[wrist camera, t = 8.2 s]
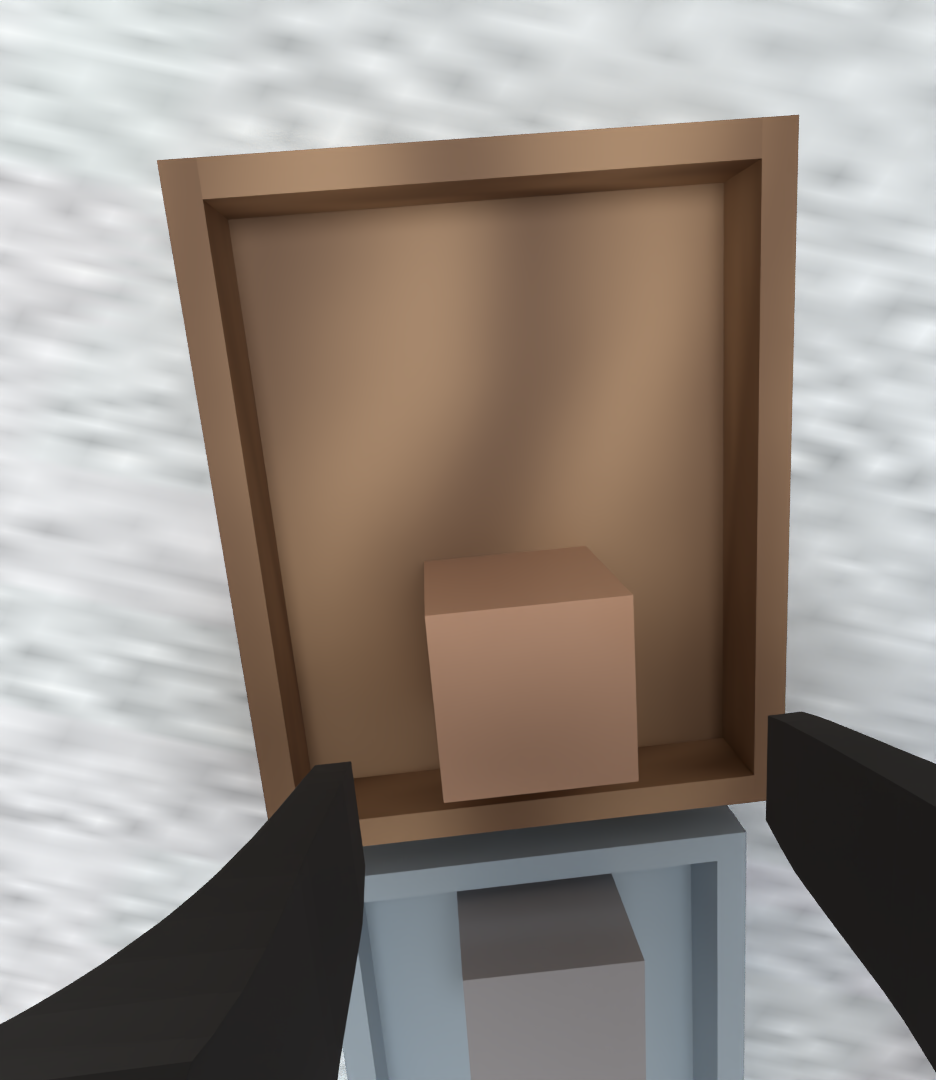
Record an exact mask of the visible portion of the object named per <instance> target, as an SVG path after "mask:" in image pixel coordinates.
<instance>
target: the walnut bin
mask: <svg viewBox="0 0 936 1080" xmlns="http://www.w3.org/2000/svg"><path fill="white" fill-rule="evenodd" d="M798 135H799V115H790V116H776V117H761V118H747V119H733V120H719V121H705V122H691V123H677V124H663V125H648V126H634V127H620V128H606V129H592V130H578V131H564V132H550V133H536V134H521V135H507V136H493V137H479V138H465V139H451V140H437V141H423V142H408V143H394V144H380V145H366V146H352V147H338V148H324V149H310V150H295V151H281V152H267V153H253V154H239V155H225V156H211V157H197V158H182V159H168V160H157V164H158V170H159V176H160V182H161V188H162V194H163V200H164V206H165V211H166V217H167V223H168V229H169V235H170V241H171V247H172V253H173V259H174V265H175V271H176V277H177V283H178V289H179V294H180V300H181V306H182V312H183V318H184V324H185V330H186V336H187V342H188V348H189V354H190V360H191V366H192V372H193V377H194V383H195V389H196V395H197V401H198V407H199V413H200V419H201V425H202V431H203V437H204V443H205V449H206V455H207V460H208V466H209V472H210V478H211V484H212V490H213V496H214V502H215V508H216V514H217V520H218V526H219V532H220V538H221V543H222V549H223V555H224V561H225V567H226V573H227V579H228V585H229V591H230V597H231V603H232V609H233V615H234V620H235V626H236V632H237V638H238V644H239V650H240V656H241V662H242V668H243V674H244V680H245V686H246V692H247V698H248V703H249V709H250V715H251V721H252V727H253V733H254V739H255V745H256V751H257V757H258V763H259V769H260V775H261V781H262V786H263V792H264V798H265V804H266V810H267V816H268V820H269V819H270V817H271V816H272V815H273V814H274V813H275V812H276V811H277V809H278V808H279V807H280V806H281V805H282V803H283V802H284V801H285V800H286V799H287V798H288V796H289V795H290V794H291V793H292V792H293V790H294V789H295V788H296V787H297V786H298V784H299V783H300V782H301V781H302V780H303V778H304V777H305V776H306V775H307V774H308V773H309V772H310V770H311V769H312V768H313V767H314V766H315V765H321V764H331V763H340V762H349V761H351V763H352V771H353V778H354V786H355V793H356V801H357V808H358V815H359V823H360V830H361V838H362V845H363V846H371V845H380V844H388V843H397V842H406V841H415V840H424V839H432V838H441V837H450V836H459V835H468V834H476V833H485V832H494V831H503V830H512V829H520V828H529V827H538V826H547V825H556V824H564V823H573V822H582V821H591V820H600V819H608V818H617V817H626V816H635V815H644V814H652V813H661V812H670V811H679V810H688V809H696V808H705V807H714V806H723V805H732V804H740V803H749V802H758V801H766V788H767V733H768V716H769V715H778V714H785V687H786V645H787V602H788V560H789V517H790V475H791V432H792V390H793V347H794V305H795V262H796V220H797V177H798ZM580 546H587V548H588V549H589V550H590V551H591V552H592V553H593V554H594V555H595V556H596V557H597V558H598V559H599V560H600V561H601V562H602V563H603V564H604V565H605V566H606V567H607V568H608V569H609V570H610V571H611V573H612V574H613V575H614V576H615V577H616V578H617V579H618V580H619V581H620V582H621V583H622V584H623V585H624V586H625V587H626V588H627V589H628V590H629V591H630V592H631V593H632V594H633V606H634V639H635V673H636V707H637V740H638V774H639V781H636V782H628V783H619V784H610V785H601V786H592V787H583V788H574V789H565V790H556V791H547V792H538V793H529V794H520V795H511V796H502V797H493V798H484V799H475V800H466V801H457V802H448V803H444V800H443V790H442V781H441V771H440V761H439V751H438V742H437V732H436V722H435V712H434V702H433V693H432V683H431V673H430V663H429V654H428V644H427V634H426V624H425V605H424V561H435V560H445V559H455V558H466V557H476V556H486V555H497V554H507V553H518V552H528V551H538V550H549V549H559V548H569V547H580Z"/></svg>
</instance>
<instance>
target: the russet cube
mask: <svg viewBox="0 0 936 1080" xmlns="http://www.w3.org/2000/svg"><path fill="white" fill-rule="evenodd" d="M424 605H425V624H426V634H427V644H428V654H429V663H430V673H431V683H432V693H433V702H434V712H435V722H436V732H437V742H438V751H439V761H440V771H441V781H442V790H443V800H444V803H448V802H457V801H466V800H475V799H484V798H493V797H502V796H511V795H520V794H529V793H538V792H547V791H556V790H565V789H574V788H583V787H592V786H601V785H610V784H619V783H628V782H636V781H639V774H638V740H637V707H636V673H635V639H634V606H633V594H632V593H631V592H630V591H629V590H628V589H627V588H626V587H625V586H624V585H623V584H622V583H621V582H620V581H619V580H618V579H617V578H616V577H615V576H614V575H613V574H612V573H611V571H610V570H609V569H608V568H607V567H606V566H605V565H604V564H603V563H602V562H601V561H600V560H599V559H598V558H597V557H596V556H595V555H594V554H593V553H592V552H591V551H590V550H589V549H588V548H587V546H580V547H569V548H559V549H549V550H538V551H528V552H518V553H507V554H497V555H486V556H476V557H466V558H455V559H445V560H435V561H424Z"/></svg>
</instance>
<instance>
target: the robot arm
mask: <svg viewBox="0 0 936 1080" xmlns="http://www.w3.org/2000/svg"><path fill="white" fill-rule="evenodd" d="M766 821H767V823H768V825H769V826H770V828H771V830H772V832H773V834H774V836H775V838H776V840H777V841H778V843H779V845H780V847H781V849H782V851H783V852H784V854H785V856H786V857H787V859H788V861H789V863H790V864H791V866H792V868H793V870H794V871H795V873H796V874H797V876H798V877H799V878H800V880H801V881H802V883H803V884H804V885H805V887H806V888H807V890H808V891H809V892H810V894H811V895H812V896H813V898H814V899H815V900H816V902H817V903H818V905H819V906H820V907H821V909H822V910H823V911H824V913H825V914H826V915H827V917H828V918H829V919H830V921H831V922H832V923H833V925H834V926H835V927H836V929H837V930H838V931H839V933H840V934H841V935H842V937H843V938H844V939H845V941H846V942H847V943H848V945H849V946H850V947H851V949H852V950H853V951H854V953H855V954H856V955H857V957H858V958H859V959H860V961H861V962H862V963H863V965H864V966H865V967H866V969H867V970H868V971H869V973H870V974H871V975H872V977H873V978H874V979H875V981H876V982H877V983H878V985H879V986H880V987H881V989H882V990H883V991H884V993H885V994H886V996H887V997H888V999H889V1000H890V1001H891V1003H892V1004H893V1006H894V1007H895V1009H896V1010H897V1012H898V1013H899V1014H900V1016H901V1017H902V1019H903V1020H904V1022H905V1023H906V1025H907V1026H908V1028H909V1030H910V1031H911V1033H912V1034H913V1036H914V1038H915V1039H916V1041H917V1043H918V1044H919V1046H920V1047H921V1049H922V1051H923V1052H924V1054H925V1056H926V1057H927V1059H928V1060H929V1062H930V1064H931V1065H932V1067H933V1069H934V1070H935V1072H936V764H935V763H933V762H930V761H927V760H925V759H922V758H920V757H917V756H915V755H912V754H910V753H908V752H905V751H903V750H900V749H898V748H895V747H893V746H890V745H888V744H886V743H883V742H881V741H878V740H876V739H874V738H871V737H869V736H866V735H864V734H861V733H859V732H857V731H854V730H852V729H849V728H847V727H844V726H842V725H839V724H837V723H834V722H832V721H829V720H826V719H823V718H821V717H818V716H815V715H812V714H808V713H805V712H796V713H787V714H778V715H769V716H768V733H767V788H766ZM364 888H365V860H364V852H363V845H362V838H361V830H360V823H359V815H358V808H357V801H356V793H355V786H354V778H353V771H352V763H351V761H349V762H340V763H331V764H321V765H315V766H314V767H313V768H312V769H311V770H310V772H309V773H308V774H307V775H306V776H305V777H304V778H303V780H302V781H301V782H300V783H299V784H298V786H297V787H296V788H295V789H294V790H293V792H292V793H291V794H290V795H289V796H288V798H287V799H286V800H285V801H284V802H283V803H282V805H281V806H280V807H279V808H278V809H277V811H276V812H275V813H274V814H273V815H272V816H271V817H270V819H269V820H268V821H267V822H266V823H265V824H264V825H263V826H262V828H261V829H260V830H259V831H258V832H257V833H256V834H255V835H254V837H253V838H252V839H251V840H250V841H249V842H248V843H247V844H246V845H245V846H244V847H243V848H242V849H241V850H240V851H239V852H238V853H237V854H236V855H235V856H234V857H233V858H232V859H231V860H230V861H229V862H228V863H227V864H226V865H225V866H224V867H223V868H222V869H221V870H220V871H219V872H218V873H217V874H216V875H215V876H214V877H213V878H212V879H211V880H209V881H208V882H207V883H206V884H205V885H204V886H203V887H202V888H201V889H199V890H198V891H197V892H196V893H195V894H194V895H192V896H191V897H190V898H189V899H188V900H186V901H185V902H184V903H183V904H182V905H181V906H179V907H178V908H177V909H176V910H175V911H173V912H172V913H171V914H170V915H168V916H167V917H166V918H165V919H163V920H162V921H161V922H160V923H158V924H157V925H155V926H154V927H153V928H151V929H150V930H148V931H147V932H146V933H144V934H143V935H142V936H140V937H139V938H137V939H136V940H135V941H133V942H132V943H130V944H129V945H128V946H126V947H125V948H124V949H122V950H121V951H119V952H118V953H117V954H115V955H114V956H112V957H111V958H110V959H108V960H107V961H105V962H104V963H102V964H101V965H99V966H98V967H96V968H95V969H93V970H92V971H90V972H88V973H87V974H85V975H84V976H82V977H81V978H79V979H77V980H76V981H74V982H73V983H71V984H70V985H68V986H66V987H65V988H63V989H61V990H60V991H58V992H56V993H55V994H53V995H51V996H50V997H48V998H46V999H45V1000H43V1001H41V1002H40V1003H38V1004H36V1005H34V1006H33V1007H31V1008H29V1009H27V1010H26V1011H24V1012H22V1013H20V1014H18V1015H17V1016H15V1017H13V1018H11V1019H9V1020H7V1021H6V1022H4V1023H2V1024H0V1080H337V1079H338V1071H339V1063H340V1057H341V1052H342V1046H343V1040H344V1034H345V1028H346V1022H347V1016H348V1010H349V1004H350V998H351V992H352V986H353V981H354V975H355V969H356V963H357V956H358V950H359V944H360V938H361V932H362V925H363V909H364Z"/></svg>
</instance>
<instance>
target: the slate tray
mask: <svg viewBox="0 0 936 1080" xmlns="http://www.w3.org/2000/svg"><path fill="white" fill-rule="evenodd" d="M363 852H364V860H365V888H364V909H363V925H362V932H361V938H360V944H359V950H358V956H357V963H356V969H355V975H354V981H353V986H352V992H351V998H350V1004H349V1010H348V1016H347V1022H346V1028H345V1034H344V1040H343V1052H344V1058H345V1065H346V1071H347V1078H348V1080H471V1074H470V1062H469V1050H468V1038H467V1026H466V1014H465V1002H464V990H463V977H462V963H461V948H460V933H459V919H458V904H457V891H465V890H473V889H482V888H490V887H499V886H507V885H516V884H524V883H533V882H542V881H550V880H559V879H567V878H576V877H584V876H593V875H601V874H610V873H612V876H613V879H614V881H615V884H616V887H617V889H618V892H619V894H620V897H621V900H622V902H623V905H624V908H625V910H626V913H627V915H628V918H629V921H630V923H631V926H632V929H633V931H634V934H635V936H636V939H637V942H638V944H639V947H640V950H641V952H642V955H643V957H644V960H645V1029H646V1080H744V1007H745V908H746V831H745V830H744V828H743V827H742V825H741V824H740V823H739V821H738V820H737V818H736V817H735V816H734V814H733V813H732V811H731V810H730V808H729V807H728V806H727V805H723V806H714V807H705V808H696V809H688V810H679V811H670V812H661V813H652V814H644V815H635V816H626V817H617V818H608V819H600V820H591V821H582V822H573V823H564V824H556V825H547V826H538V827H529V828H520V829H512V830H503V831H494V832H485V833H476V834H468V835H459V836H450V837H441V838H432V839H424V840H415V841H406V842H397V843H388V844H380V845H371V846H363Z"/></svg>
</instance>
